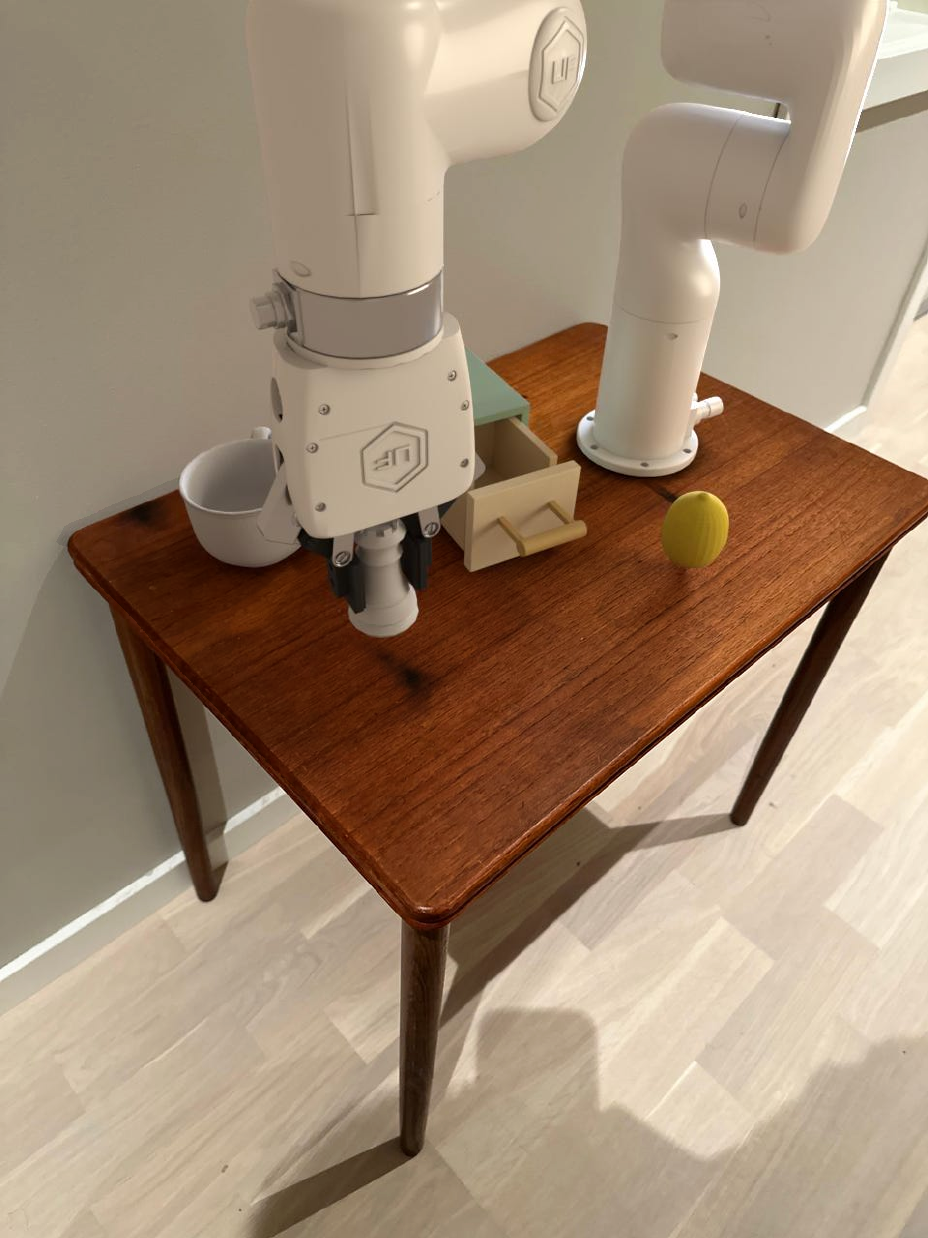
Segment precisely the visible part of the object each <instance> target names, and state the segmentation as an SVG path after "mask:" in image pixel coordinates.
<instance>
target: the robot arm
mask: <svg viewBox="0 0 928 1238" xmlns="http://www.w3.org/2000/svg"><path fill="white" fill-rule="evenodd" d="M889 4H890V0H664V6H663V13H662V20H661V21H662V22H661V33H660V57H661V62H662V66H663V67H664V69H665V71H666V73H667V74H668V75H669V76H670V77H672V79H674V80H676V81H678V82H679V83H682V84H684V85H687V86H690V87H694V88H699V89H703V90H707V91H712V92H716V93H723V94H727V95H733V96H739V97H745V98H749V99H755V100H761V101H766V102H772V103H778V104H781V105H784V106H785V108H786V109H787V112H788V115H789V120H786V119H780V118H775V117H770V116H765V115H764V116H763V115H758V114H753V113H749V112H748V111H747V112H746V111H741V110H736V109H732V108H731V109H730V108H727V107H726V108H725V107H719V106H714V105H708V104H704V103H703V104H702V103H697V102H694V103H693V102H671V103H665V104H662V105H658V106H656V107H654V108H652V109H650V110H649V111H648V112H646V113H645V114H643V115H642V116H641V117H640V118H639V120H637V122H636V123H635V125H633V127H632V129H631V131H630V133H629V134H628V137H627V139H626V142H625V147H624V151H623V156H622V161H621V162H622V163H621V173H620V174H621V177H620V181H621V182H620V186H621V187H620V189H621V190H620V194H621V195H620V196H621V197H620V198H621V227H620V229H621V230H620V243H619V253H618V260H617V261H618V262H617V268H616V275H615V276H616V277H615V283H614V288H613V294H612V300H611V301H612V302H611V307H610V313H609V320H608V327H607V332H606V338H605V345H604V352H603V359H602V364H601V365H602V366H601V371H600V377H599V384H598V391H597V397H596V403H595V408H594V409H593V410H591V411H589V412H587V413H586V414H585V415H584V416H583V417H581V419H580V421H579V422H578V425H577V428H576V429H577V430H576V443H577V446H578V448H579V449H580V451H581V452H582V453H583V454H584V455H585V456H586V457H587V458H588V459H589V460H591V461H592V462H593V463H595V464H596V465H598V466H600V467H602V468H604V469H606V470H609V471H612V472H615V473H617V474H621V475H626V476H632V477H641V478H642V477H643V478H648V477H649V478H650V477H663V476H667V475H672V474H675V473H677V472H680V471H682V470H683V469H685V468H686V467H688V466H689V465H690V464H691V463H692V462H693V461H694V459H695V458H696V455H697V452H698V446H699V439H698V436H697V434H696V432H695V431H694V428H695V427H694V426H695V425H698V424H700V422H701V420H702V419H703V420H704V419H709V418H712V417H716V416H719V415H721V414H722V413H723V411H724V402H723V400H722V398H720V397H719V396H713V397H709V398H706V399H703V400H701V401H699V402H698V398H699V397H698V394H697V392H696V391H697V386H698V382H699V379H700V374H701V370H702V366H703V362H704V357H705V354H706V349H707V346H708V342H709V337H710V334H711V329H712V326H713V321H714V317H715V313H716V310H717V306H718V301H719V297H720V293H721V292H720V291H721V276H720V269H719V264H718V260H717V257H716V253H715V250H714V248H713V246H712V242H715V243H716V242H717V243H720V244H725V245H729V246H733V247H736V248H737V247H738V248H741V249H745V250H749V251H754V252H757V253H758V252H759V253H763V254H768V255H774V256H783V257H785V256H793V255H797V254H800V253H802V252H804V251H805V250H807V249H808V248H809V247H811V245H812V244H813V243H814V242H815V241H816V239H818V237H819V235H820V234H821V232H822V231H823V228H824V225H825V224H826V222H827V219H828V217H829V216H830V212H831V209H832V207H833V204H834V200H835V198H836V195H837V191H838V188H839V185H840V182H841V179H842V175H843V172H844V168H845V165H846V162H847V158H848V156H849V152H850V149H851V145H852V142H853V138H854V136H855V133H856V130H857V129H856V128H857V125H858V122H859V119H860V115H861V112H862V109H863V106H864V102H865V99H866V96H867V92H868V89H869V86H870V83H871V80H872V76H873V73H874V69H875V67H876V63H877V59H878V56H879V52H880V48H881V44H882V41H883V36H884V33H885V30H886V29H885V28H886V24H887V18H888V15H889V7H890V5H889ZM244 18H245V20H244V32H245V44H246V55H247V61H248V68H249V76H250V83H251V90H252V99H253V105H254V111H255V112H254V113H255V119H256V120H255V121H256V127H257V134H258V141H259V147H260V148H259V149H260V154H261V163H262V171H263V178H264V184H265V191H266V199H267V200H266V201H267V208H268V214H269V222H270V223H269V224H270V229H271V230H270V231H271V238H272V245H273V253H274V260H275V268H272V269H271V272H272V278H273V283H272V285H271V291H267V292H265V293H264V295H263V296H259V297H254V298H250V299H249V310H250V315H251V317H252V320H253V323H254V326H255V327H256V329H257V330H259V331H261V330H265V329H269V328H273V329H274V332H273V338H272V346H271V356H270V369H269V371H270V372H269V413H270V414H269V416H270V417H269V419H270V430H271V435H272V447H273V457H274V465H275V471H276V478H275V480H274V482H273V485H272V487H271V489H270V491H269V494H268V496H267V498H266V501H265V503H264V505H263V507H262V510H261V512H260V514H259V516H258V519H257V522H256V524H257V527H258V528H259V530H260V532H261V533H262V535H263V537H264V538H265V540H266V541H269V542H275V543H282V544H289V545H294V544H298V545H301V548H303V549H304V550H307V551H309V552H311V553H314V554H316V555H318V556H320V557H323V558H324V559H325V566H326V574H327V581H328V585H329V587H330V590H331V592H332V593H333V595H334V597H335V598H336V599H337V600H339V599H342V598H343V599H344V600H345V601H346V603H347V605H348V607H349V606H350V607H351V609H352V610H353V612H354V613H355V614H358V613H361V612H363V611H364V609H365V608H366V599H365V587H364V575H363V566H362V563H361V561H360V559H359V558H358V556H357V555H356V551H355V549H354V545H355V542H354V533H355V532H356V531H359V530H363V529H366V528H369V527H372V526H375V525H378V524H381V523H385V522H388V521H391V520H394V519H397V518H399V519H400V520H401V521H402V522H403V523H404V524H405V528H406V533H405V536H404V538H403V539H402V540H401V541H400V543H401V544H402V548H403V553H402V555H401V557H400V564H401V569H402V573H403V576H404V577H405V578H406V579H407V580H408V582H409V584H410V585H411V586H412V587H413V588H414V591H418V592H422V591H425V590H427V589H428V588H429V568H430V567H432V566H433V537H435V536H436V535H438V533H439V532H440V530H441V526H442V524H441V523H440V519H441V518H442V517H443V515H444V514H445V513H446V512H447V511H448V509H449V508H450V507H451V506H452V505H453V503H454V502H455V501H456V500H457V498H458V497H459V496H460V495H462V494H463V493H464V492H465V491H467V490H468V488H469V487H470V486H471V484H472V483H473V482H474V481H475V480H477V479H478V478H479V477H480V476H481V475H482V474H483V473H484V471H485V468H486V467H485V464H484V463H483V462H482V460H481V459H480V457H479V456H478V455H477V453H476V452H475V441H474V421H473V406H472V396H471V387H470V380H469V373H468V366H467V360H466V355H465V349H464V346H465V343H464V339H463V335H462V331H461V326H460V323H459V321H458V319H457V318H456V317H455V316H454V315H452V314H451V313H450V312H448V311H447V310H445V309H444V294H445V293H444V289H445V288H444V287H445V286H444V279H445V277H444V273H445V272H444V269H445V268H444V195H445V194H444V191H445V190H444V188H445V187H444V186H445V174H446V172H447V171H448V169H449V168H450V167H452V166H454V165H461V164H465V163H471V162H475V161H476V162H477V161H482V160H487V159H488V160H489V159H493V158H498V157H503V156H507V155H511V154H514V153H518V152H520V151H522V150H525V149H527V148H529V147H531V146H532V145H534V144H536V143H537V142H539V141H540V140H541V139H543V138H544V137H545V136H546V135H548V133H550V131H552V130H553V129H554V128H555V127H556V125H557V124H558V123H560V122H561V120H562V119H563V118H564V116H565V115H566V113H567V112H568V110H569V108H570V106H571V104H572V103H573V101H574V98H575V96H576V94H577V92H578V89H579V86H580V84H581V81H582V78H583V74H584V69H585V66H586V60H587V59H586V58H587V53H588V52H587V50H588V32H587V23H586V17H585V13H584V9H583V5H582V2H581V0H248V3H247V6H246V9H245V17H244ZM711 241H712V242H711ZM294 514H296V516H294Z"/></svg>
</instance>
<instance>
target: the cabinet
mask: <svg viewBox="0 0 928 1238" xmlns="http://www.w3.org/2000/svg"><path fill="white" fill-rule="evenodd" d="M464 349H465V355H466V360H467V366H468V373H469V380H470V387H471V396H472V406H473V421H474V427H475V426H478V425H482V424H486V423H489V422H493V421H497V420H501V419H504V418H508V417H512V416H515V417H516V418H517V419H518V420H519V421H520V422H522V423H523V424H524V425H525V426H526V427H527V428H528V429H529V424H530V423H529V420H530V412H531V411H530V410H531V404H530V403H529V402H528V401H527V400H526V399H525V398H524V397H523V396H521V394H520V393H518V391H516V390H515V389H514V388H513V387H511V386H510V385H509V383H507V382H506V381H505V380H504V379H503V378H501V377H500V375H498V373H496V372H495V371H494V370H493V369H491V367H489V366H488V365H487V364H486V363H485V362H483V360H481V359H480V358H479V357H478V356H476V354H474V352H472V351H471V350H470V349H469V348H468V347H467V346H466V345H464Z"/></svg>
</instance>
